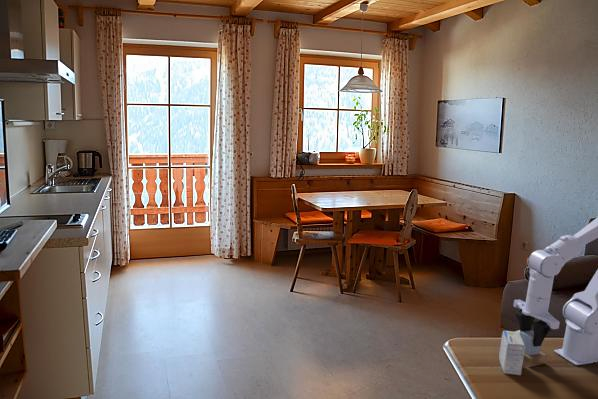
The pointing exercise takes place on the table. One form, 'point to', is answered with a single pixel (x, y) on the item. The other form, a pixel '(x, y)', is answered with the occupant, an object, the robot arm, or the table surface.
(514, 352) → the medicine box
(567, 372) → the table surface
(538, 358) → the tan square block
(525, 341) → the slate block
